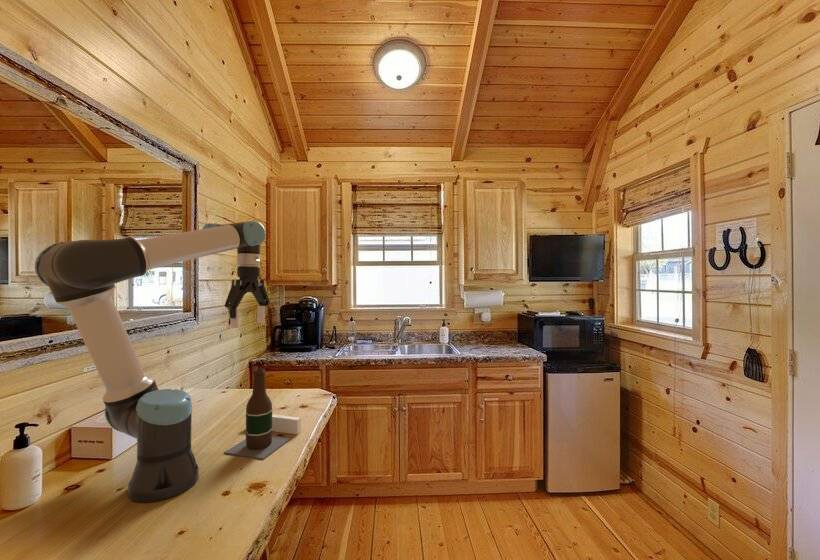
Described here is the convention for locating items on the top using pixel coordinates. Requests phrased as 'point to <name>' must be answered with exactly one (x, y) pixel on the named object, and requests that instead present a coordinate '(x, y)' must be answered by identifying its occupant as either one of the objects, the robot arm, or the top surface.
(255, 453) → the mat
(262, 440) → the beer bottle
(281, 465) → the top surface
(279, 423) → the wall
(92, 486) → the top surface
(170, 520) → the top surface
